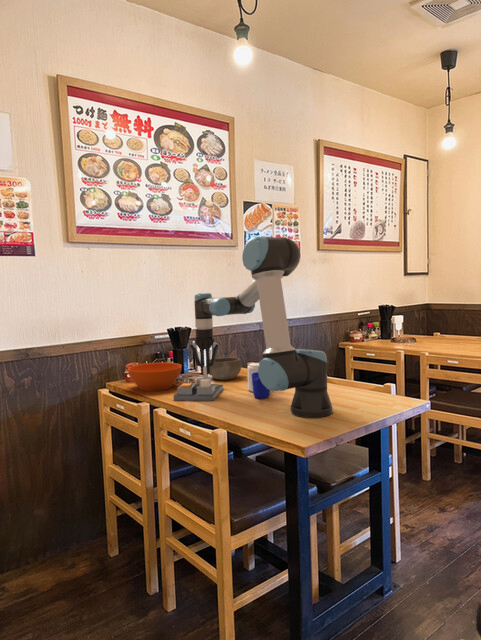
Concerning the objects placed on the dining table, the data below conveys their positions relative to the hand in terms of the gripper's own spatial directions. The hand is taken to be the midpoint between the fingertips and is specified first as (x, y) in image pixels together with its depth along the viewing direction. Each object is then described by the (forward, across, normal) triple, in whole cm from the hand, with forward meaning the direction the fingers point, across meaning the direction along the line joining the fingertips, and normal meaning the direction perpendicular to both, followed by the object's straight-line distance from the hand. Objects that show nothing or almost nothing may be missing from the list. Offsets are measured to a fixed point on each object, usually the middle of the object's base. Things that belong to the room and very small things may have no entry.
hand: (205, 381), depth 202 cm
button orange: (+3, +7, +8) cm, 11 cm away
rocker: (0, +3, -6) cm, 7 cm away
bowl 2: (+6, -2, -33) cm, 34 cm away
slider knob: (+3, +2, 0) cm, 4 cm away
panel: (+5, +3, +2) cm, 6 cm away
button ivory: (+1, -2, +8) cm, 8 cm away
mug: (+6, -25, +8) cm, 27 cm away
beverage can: (+6, -22, -6) cm, 23 cm away
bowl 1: (+6, +27, -11) cm, 30 cm away
